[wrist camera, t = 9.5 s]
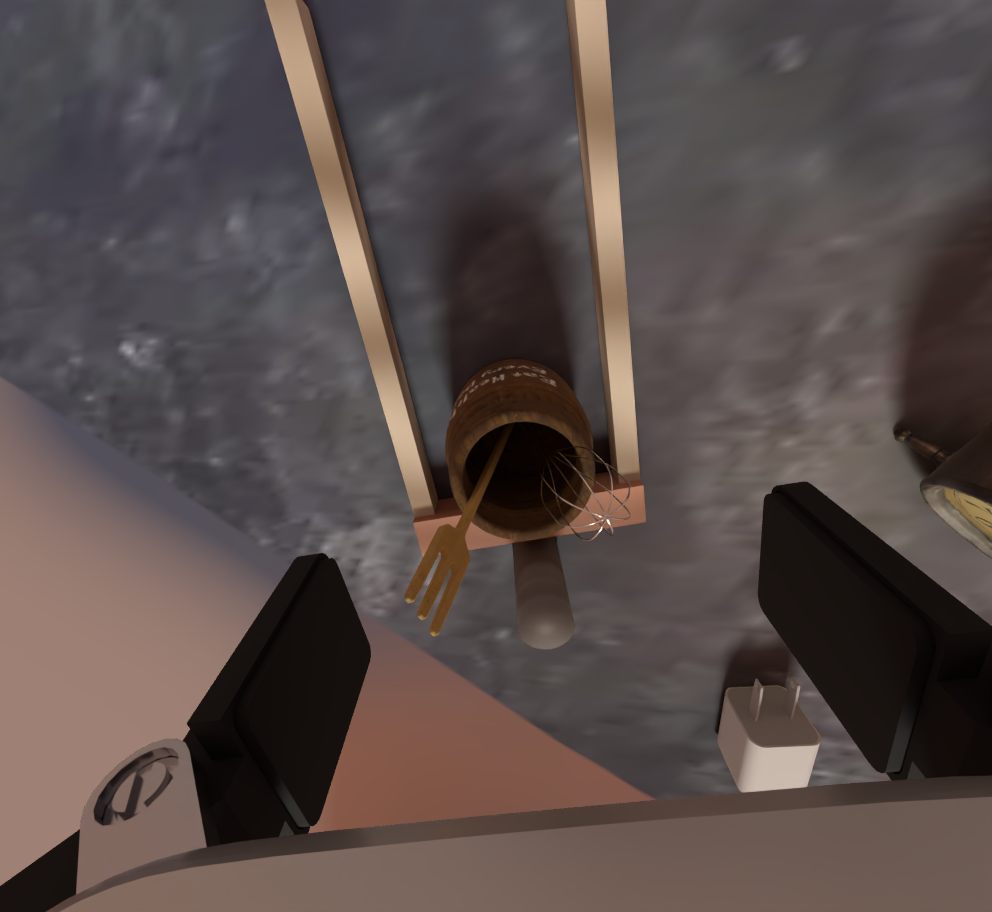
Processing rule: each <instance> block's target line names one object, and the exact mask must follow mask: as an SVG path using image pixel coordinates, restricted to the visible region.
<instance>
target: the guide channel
mask: <svg viewBox="0 0 992 912" xmlns="http://www.w3.org/2000/svg"><path fill="white" fill-rule="evenodd" d="M265 3H266V7H267V10H268V13H269V17H270V20H271V24H272V27H273V31H274V34H275V38H276V41H277V44H278V48H279V51H280V55H281V58H282V62H283V65H284V69H285V72H286V75H287V79H288V82H289V86H290V89H291V93H292V96H293V100H294V103H295V107H296V110H297V113H298V117H299V120H300V124H301V127H302V131H303V134H304V138H305V141H306V144H307V148H308V151H309V155H310V158H311V162H312V165H313V169H314V172H315V175H316V179H317V182H318V186H319V189H320V193H321V196H322V200H323V203H324V206H325V210H326V213H327V217H328V220H329V224H330V227H331V231H332V234H333V237H334V241H335V244H336V248H337V251H338V255H339V258H340V262H341V265H342V268H343V272H344V275H345V279H346V282H347V286H348V289H349V293H350V296H351V299H352V303H353V306H354V310H355V313H356V317H357V320H358V324H359V327H360V331H361V334H362V337H363V341H364V344H365V348H366V351H367V355H368V358H369V362H370V365H371V368H372V372H373V375H374V379H375V382H376V386H377V389H378V393H379V396H380V399H381V403H382V406H383V410H384V413H385V417H386V420H387V424H388V427H389V430H390V434H391V437H392V441H393V444H394V448H395V451H396V455H397V458H398V461H399V465H400V468H401V472H402V475H403V479H404V482H405V486H406V489H407V492H408V496H409V499H410V503H411V506H412V510H413V513H414V517H415V519H414V522H413V524H414V528H415V531H416V534H417V538H418V541H419V545H420V548H421V551H422V555H423V557H424V555H425V553H426V551H427V549H428V547H429V545H430V543H431V541H432V539H433V537H434V535H435V533H436V531H437V529H438V527H439V526H442V525H445V524H449V525H451V526H453V527H455V528H456V526H457V524H458V522H459V520H460V518H461V516H462V514H463V512H462V511H461V509H460V508H459V506H458V504H457V502H456V500H455V498H454V497H452V498H446V499H440V500H438V497H437V494H436V490H435V486H434V482H433V478H432V475H431V471H430V467H429V463H428V459H427V456H426V452H425V448H424V444H423V440H422V437H421V433H420V429H419V425H418V421H417V418H416V414H415V410H414V406H413V402H412V399H411V395H410V391H409V387H408V383H407V380H406V376H405V372H404V368H403V364H402V361H401V357H400V353H399V349H398V346H397V342H396V338H395V334H394V330H393V327H392V323H391V319H390V315H389V311H388V308H387V304H386V300H385V296H384V292H383V289H382V285H381V281H380V277H379V273H378V270H377V266H376V262H375V258H374V254H373V251H372V247H371V243H370V239H369V235H368V232H367V228H366V224H365V220H364V216H363V213H362V209H361V205H360V201H359V197H358V194H357V190H356V186H355V182H354V178H353V175H352V171H351V167H350V163H349V159H348V156H347V152H346V148H345V144H344V140H343V137H342V133H341V129H340V125H339V122H338V118H337V114H336V110H335V106H334V103H333V99H332V95H331V91H330V87H329V84H328V80H327V76H326V72H325V68H324V65H323V61H322V57H321V53H320V49H319V46H318V42H317V38H316V34H315V30H314V27H313V23H312V19H311V15H310V11H309V8H308V7H307V6H306V4H305V3H304V2H303V0H265ZM566 7H567V18H568V28H569V38H570V48H571V58H572V69H573V79H574V89H575V99H576V110H577V120H578V130H579V140H580V151H581V161H582V171H583V181H584V192H585V202H586V212H587V222H588V233H589V243H590V253H591V263H592V273H593V284H594V294H595V304H596V314H597V325H598V335H599V345H600V355H601V366H602V376H603V386H604V396H605V407H606V417H607V427H608V437H609V447H610V458H611V467H612V468H614V469H615V470H616V471H617V472H619V473H620V474H621V475H622V476H623V477H624V478H625V479H626V480H627V481H628V483H629V485H630V495H629V498H628V500H627V501H626V503H625V504H624V505H625V506H626V508H627V509H628V510H629V511H630V513H631V516H630V518H629V519H627V520H614V519H609V521H610V524H611V526H612V527H618V526H624V525H630V524H637V523H643V522H646V516H645V502H644V487H643V484H642V482H641V481H640V470H639V456H638V443H637V429H636V415H635V401H634V387H633V373H632V360H631V346H630V332H629V318H628V304H627V290H626V277H625V263H624V249H623V235H622V221H621V207H620V194H619V180H618V166H617V152H616V138H615V125H614V111H613V97H612V83H611V69H610V55H609V42H608V28H607V14H606V0H566ZM610 472H611V476H612V481H613V495H614V496H615V497H616V498H617V499H619V500H620V501H621V502H622V503H624V501H625V500H626V498H627V496H628V492H629V487H628V484H627V483H626V482H625V480H624V479H623V478H622V477H621V476H619V475H618V474H617V473H616V472H615V471H614V470H613V469H612V471H610ZM595 481H596V482H597V483H599V484H600V485H602V486H603V487H605V488H606V489H607V490H609V491H610V492H611V479H610V475H609V472H603V473H597V474H595ZM597 483H595V482H594V487H593V490H592V491H593V493H594V494H595V496H596V497H597V499H598V501H599V503H600V504H601V506H602V508H603V510H604V511H605V513H606V515H607V512H608V508H609V504H610V499H611V494H610V493H609V492H608V491H606V490H605V489H604V488H602V487H601V486H599V485H598V484H597ZM586 506H587V508H588V509H589V510H590V511H591V512H592V513H595V514H599V515H603V516H605V515H604V513H603V511H602V510H601V508H600V506H599V504H598V503H597V501H596V499H595V498H594V496H593V494H592V493H591V496H590V498H589V500H588V502H587V504H586ZM620 506H621V504H620V503H619V502H618V501H617V500H616V499H615V498H614V497H612V504H611V508H610V511H609V514H611V513H612V512H614V511H615V510H617V509H618V508H619V507H620ZM584 510H587V509H586V507H584ZM587 511H588V510H587ZM609 514H608V515H609ZM594 516H595V517H596V519H597V520H600V519H602V518H604V517H599V516H596V515H594ZM628 516H629V513H628V511H627V510H626V509H625V508H624V507H623V506H622V507H621V508H620V509H619V510H618V511H617V512H615V513H614V514H613V515H611V516H609V517H612V518H627V517H628ZM606 518H607V517H606ZM604 520H605V519H604ZM604 520H602V521H600V523H601V524H603V522H604ZM594 522H596V520H595V518H594V517H593V516H592V515H591V514H590V513H587V512H584V511H582V512H581V513H580V514H579V515H578V516H577V517H576V518H575V519H574V520H573V521H572V522H571V523H570V526H583V525H587V524H591V523H594ZM604 527H605V528H610V526H609V523H608V521H607V520H606V522H605V524H604ZM600 528H601V525H600V524H599V523H596V524H593V525H590V526H587V527H581V528H573V529H574V531H575V532H576V533H580V532H586V531H592V530H599V529H600ZM602 529H603V528H602ZM567 534H574V532H573V531H572V529H571V528H569V527H564V528H563V529H561V530H559V531H557V532H555V533H553V534H551V535H548V536H545V537H542V538H538V539H532V540H510V539H505V538H500V537H497V536H494V535H492V534H489V533H487V532H485V531H483V530H482V529H480V528H479V527H477V526H476V525H474V524H473V523H472V522H471V524H470V526H469V528H468V530H467V533H466V535H465V541H466V544H467V548H468V550H472V549H479V548H485V547H491V546H498V545H504V544H510V543H513V558H514V574H515V590H516V606H517V622H518V633H519V635H520V637H521V639H522V640H523V641H524V642H525V643H526V644H528V645H529V646H531V647H534V648H538V649H553V648H556V647H559V646H561V645H563V644H564V643H566V642H567V641H568V640H569V639H570V638H571V636H572V635H573V632H574V628H575V625H574V620H573V615H572V610H571V606H570V601H569V597H568V592H567V588H566V583H565V578H564V574H563V569H562V565H561V560H560V556H559V551H558V547H557V542H556V539H555V538H554V537H555V536H561V535H567ZM439 555H441V554H440V553H439Z"/></svg>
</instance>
